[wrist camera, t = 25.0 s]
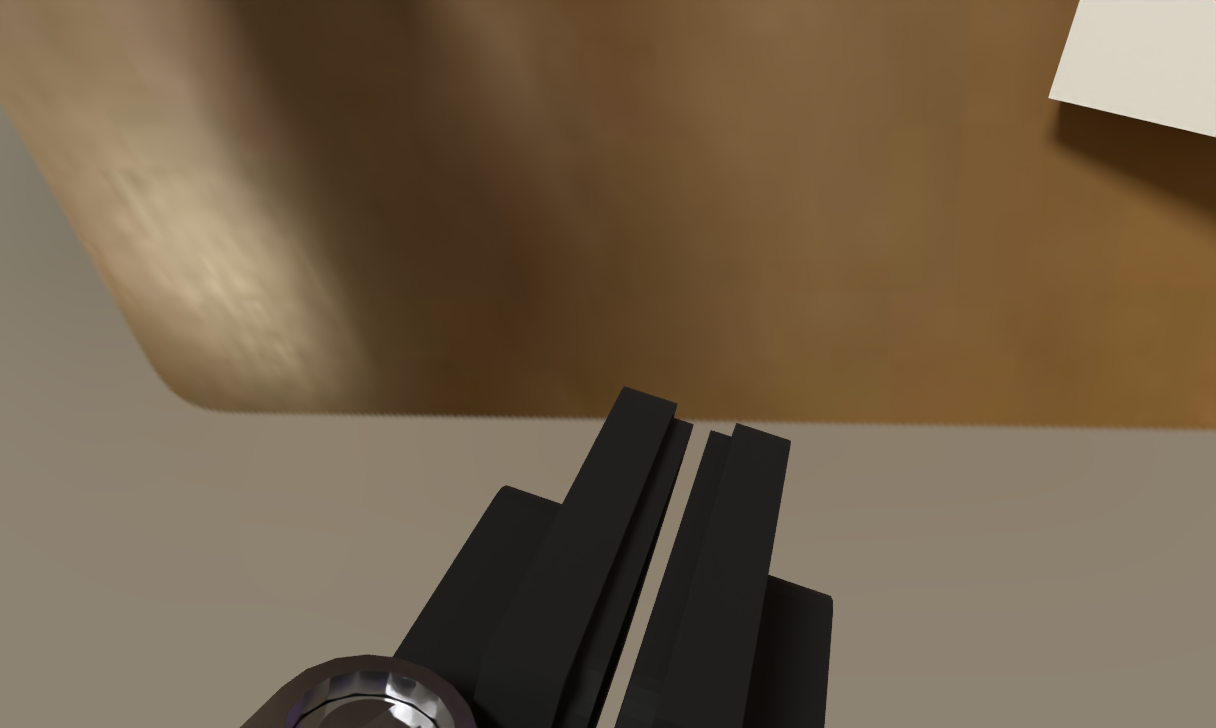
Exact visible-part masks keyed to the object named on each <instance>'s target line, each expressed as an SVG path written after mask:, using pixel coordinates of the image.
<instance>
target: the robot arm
mask: <svg viewBox="0 0 1216 728" xmlns="http://www.w3.org/2000/svg"><path fill="white" fill-rule="evenodd" d="M676 407H677V403H674V402H671V401H668V400H665V399H662V398H659V397H655V396H652V395H649V394H646V393H643V392H640V391H637V390H634V389H631V388H628V387H623V389H622V390H621V392H620V394H619V396H618V398H617V400H616V402H615V404H614V406H613V408H612V410H611V412H610V413H609V415H608V417H607V419H606V421H605V423H604V425H603V427H602V429H601V431H600V433H599V435H598V436H597V438H596V440H595V442H594V444H593V446H592V448H591V450H590V452H589V454H588V456H587V458H586V459H585V461H584V463H583V465H582V467H581V469H580V471H579V473H578V475H577V477H576V479H575V481H574V482H573V485H572V486H571V488H570V490H569V492H568V494H567V496H566V498H565V500H564V502H563V504H560V503H557V502H554V501H551V500H548V499H545V498H542V497H539V496H536V495H533V494H530V493H527V492H525V491H522V490H519V489H516V488H513V487H510V486H507V485H506V486H504V487H502V488H501V489H500V490H499V492H498V493H497V494H496V496H495V497H494V499H493V500H492V502H491V504H490V505H489V507H488V508H487V510H486V511H485V513H484V514H483V516H482V518H481V519H480V521H479V522H478V524H477V525H476V527H475V529H474V530H473V532H472V533H471V535H470V536H469V538H468V540H467V541H466V543H465V544H464V546H463V547H462V549H461V551H460V552H459V554H458V555H457V557H456V558H455V560H454V561H453V563H452V565H451V566H450V568H449V569H448V571H447V573H446V574H445V576H444V577H443V579H442V580H441V582H440V584H439V585H438V587H437V588H436V590H435V591H434V593H433V594H432V596H431V598H430V599H429V601H428V602H427V604H426V605H425V607H424V609H423V610H422V612H421V613H420V615H419V616H418V618H417V620H416V621H415V623H414V624H413V626H412V627H411V629H410V631H409V632H408V634H407V635H406V637H405V639H404V640H403V641H402V643H401V645H400V646H399V648H398V650H397V651H396V652H395V654H394V656H393V657H386V656H376V655H359V656H352V657H343V658H335V659H333V660H330V661H327V662H325V663H322V664H319V665H317V666H314V667H311V668H308V669H306V670H305V671H304V672H302V673H301V674H299V675H298V676H296V677H295V678H294V679H292V680H291V681H290V682H288V683H287V684H285V685H284V686H283V687H281V688H280V689H279V690H278V691H277V692H276V693H275V694H274V695H273V696H272V697H271V698H270V699H269V700H268V701H267V702H266V703H265V704H264V705H263V706H262V707H261V708H260V709H259V710H258V711H257V712H256V713H255V714H254V715H253V716H252V717H251V718H250V719H248V720H247V722H246V723H244V724H243V725H242V726H241V727H240V728H596V726H597V724H598V721H599V718H600V715H601V712H602V709H603V706H604V703H605V700H606V698H607V695H608V692H609V689H610V686H611V683H612V680H613V677H614V674H615V671H616V668H617V666H618V663H619V660H620V656H621V654H622V651H623V648H624V645H625V641H626V638H627V635H628V632H629V629H630V625H631V622H632V619H633V616H634V613H635V610H636V607H637V604H638V600H639V597H640V594H641V591H642V588H643V584H644V581H645V578H646V575H647V571H648V569H649V565H650V562H651V559H652V556H653V553H654V549H655V546H656V543H657V540H658V537H659V533H660V530H661V527H662V524H663V521H664V518H665V514H666V511H667V508H668V505H669V502H670V498H671V495H672V492H673V489H674V486H675V483H676V480H677V476H678V473H679V470H680V467H681V464H682V461H683V457H684V454H685V451H686V447H687V444H688V441H689V438H690V435H691V431H692V428H693V424H691V423H688V422H685V421H682V420H679V419H676V418H674V415H675V411H676ZM790 444H791V441H790V440H787V439H784V438H781V437H778V436H775V435H772V434H769V433H766V432H763V431H760V430H757V429H754V428H751V427H748V426H744V425H741V424H738V423H736V426H735V429H734V431H733V434H732V437H731V436H727V435H724V434H721V433H718V432H715V431H712V430H711V431H710V435H709V438H708V441H707V444H706V447H705V450H704V453H703V456H702V459H701V462H700V465H699V468H698V471H697V475H696V478H695V481H694V484H693V487H692V490H691V493H690V496H689V499H688V502H687V505H686V508H685V511H684V514H683V518H682V521H681V524H680V527H679V530H678V533H677V536H676V539H675V542H674V545H673V548H672V552H671V555H670V558H669V561H668V564H667V567H666V570H665V573H664V576H663V579H662V582H661V585H660V588H659V591H658V595H657V598H656V601H655V604H654V607H653V610H652V613H651V616H650V619H649V622H648V625H647V628H646V631H645V635H644V638H643V641H642V644H641V647H640V650H639V653H638V656H637V659H636V662H635V666H634V669H633V672H632V675H631V678H630V681H629V684H628V688H627V690H626V694H625V696H624V700H623V703H622V706H621V709H620V712H619V715H618V718H617V721H616V724H615V727H614V728H824V724H825V711H826V698H827V684H828V671H829V658H830V644H831V631H832V617H833V600H832V598H831V596H829V595H826V594H823V593H820V592H817V591H815V590H811V589H809V588H805V587H803V586H800V585H797V584H794V583H791V582H788V581H785V580H782V579H779V578H776V577H774V576H771V575H768V573H769V567H770V561H771V555H772V549H773V543H774V538H775V532H776V526H777V520H778V515H779V509H780V503H781V497H782V491H783V485H784V480H785V473H786V468H787V462H788V456H789V451H790Z"/></svg>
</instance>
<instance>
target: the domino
mask: <svg viewBox="0 0 1216 728" xmlns="http://www.w3.org/2000/svg"><path fill="white" fill-rule="evenodd" d="M1048 98H1051V99H1056V100H1060V101H1064V102H1068V103H1073V104H1077V105H1081V106H1085V107H1090V108H1094V109H1098V110H1102V111H1107V112H1111V113H1115V114H1119V115H1124V116H1128V117H1132V118H1136V119H1141V120H1145V121H1149V122H1153V123H1158V124H1162V125H1166V126H1170V127H1175V128H1179V129H1183V130H1187V131H1192V132H1196V133H1200V134H1204V135H1209V136H1213V137H1216V0H1080V2H1079V5H1078V8H1077V11H1076V14H1075V17H1074V20H1073V23H1072V26H1071V30H1070V33H1069V36H1068V39H1067V42H1066V45H1065V48H1064V51H1063V54H1062V57H1061V60H1060V63H1059V67H1058V70H1057V73H1056V76H1055V79H1054V82H1053V85H1052V88H1051V91H1050V94H1049V97H1048Z"/></svg>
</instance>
